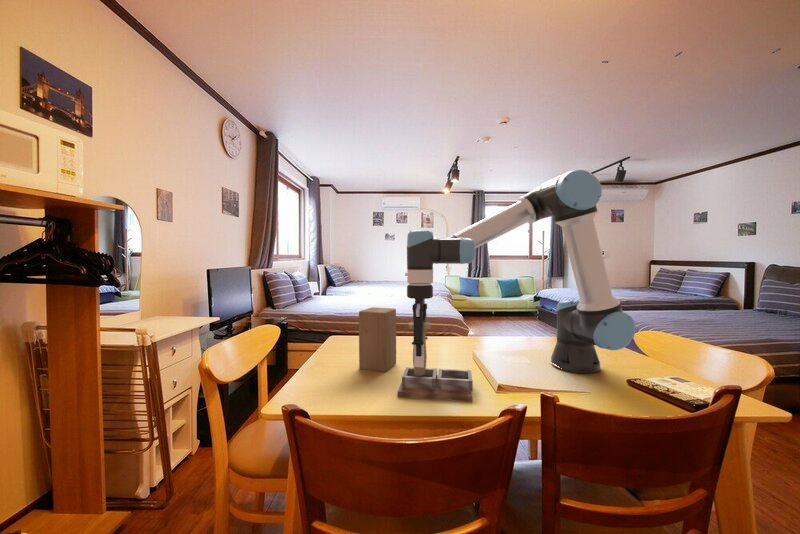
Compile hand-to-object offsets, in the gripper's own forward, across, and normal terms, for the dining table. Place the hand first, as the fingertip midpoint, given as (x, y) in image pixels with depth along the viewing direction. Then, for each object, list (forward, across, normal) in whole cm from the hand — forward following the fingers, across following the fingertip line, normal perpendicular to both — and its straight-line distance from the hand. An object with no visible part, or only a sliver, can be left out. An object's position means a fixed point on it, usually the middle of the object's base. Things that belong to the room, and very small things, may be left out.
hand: (419, 364), depth 96 cm
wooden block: (+7, -17, -16) cm, 25 cm away
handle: (+3, 0, 0) cm, 3 cm away
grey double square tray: (+7, 0, +5) cm, 8 cm away
